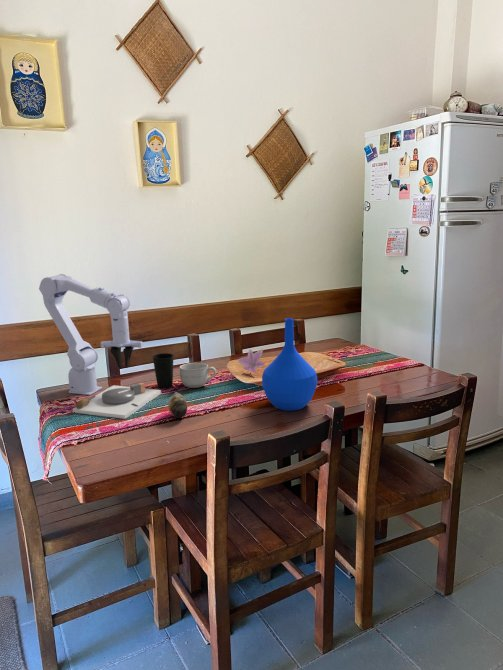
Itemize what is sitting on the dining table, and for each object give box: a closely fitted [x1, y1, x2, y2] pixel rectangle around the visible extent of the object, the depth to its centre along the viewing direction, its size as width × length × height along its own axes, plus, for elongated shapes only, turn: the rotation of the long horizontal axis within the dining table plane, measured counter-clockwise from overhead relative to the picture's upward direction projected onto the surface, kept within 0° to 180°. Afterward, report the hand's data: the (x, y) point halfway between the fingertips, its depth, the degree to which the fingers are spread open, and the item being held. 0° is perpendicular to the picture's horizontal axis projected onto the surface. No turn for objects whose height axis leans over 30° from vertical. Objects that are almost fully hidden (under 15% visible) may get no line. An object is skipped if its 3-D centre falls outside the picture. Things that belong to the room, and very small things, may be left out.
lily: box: [237, 349, 266, 373], centre depth 208 cm, size 12×12×10 cm
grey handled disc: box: [102, 381, 146, 404], centre depth 181 cm, size 16×11×3 cm
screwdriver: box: [74, 394, 96, 409], centre depth 176 cm, size 9×2×2 cm, turn 161°
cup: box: [152, 352, 175, 390], centre depth 194 cm, size 8×8×12 cm
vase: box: [261, 317, 318, 412], centre depth 171 cm, size 18×18×30 cm
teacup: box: [179, 362, 217, 389], centre depth 195 cm, size 14×11×8 cm
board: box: [72, 385, 162, 420], centre depth 181 cm, size 20×24×1 cm
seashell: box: [167, 391, 188, 419], centre depth 166 cm, size 10×6×8 cm, turn 24°
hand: (123, 366), depth 186 cm, fingers closed
